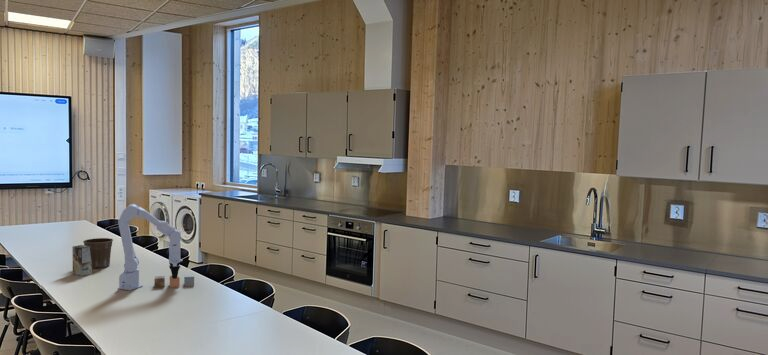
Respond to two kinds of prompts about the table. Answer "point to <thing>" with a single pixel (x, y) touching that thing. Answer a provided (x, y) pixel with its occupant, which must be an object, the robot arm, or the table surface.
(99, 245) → the plant pot
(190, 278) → the slate block
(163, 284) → the walnut block
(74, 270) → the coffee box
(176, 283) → the orange block
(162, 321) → the table surface
